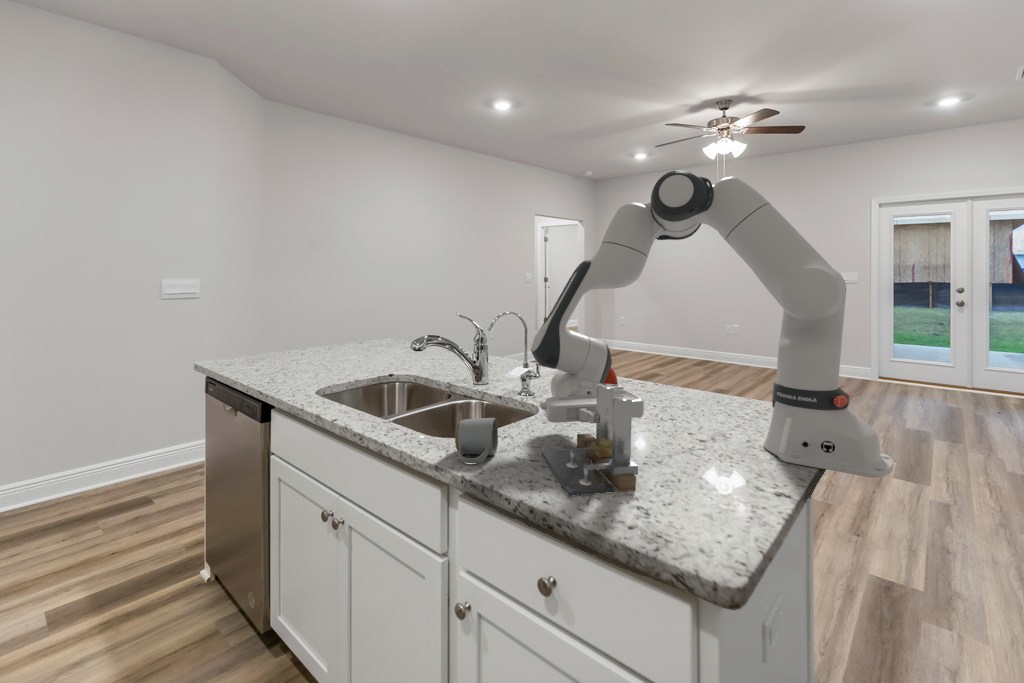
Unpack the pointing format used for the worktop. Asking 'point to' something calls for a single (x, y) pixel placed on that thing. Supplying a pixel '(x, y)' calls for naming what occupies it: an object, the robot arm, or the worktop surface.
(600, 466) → the fixed leg
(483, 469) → the worktop surface
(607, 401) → the sliding leg
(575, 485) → the hole plate
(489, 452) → the ceramic mug
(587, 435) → the rail
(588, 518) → the worktop surface
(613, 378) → the red egg shape
